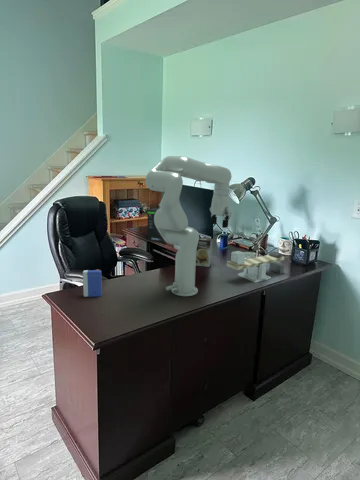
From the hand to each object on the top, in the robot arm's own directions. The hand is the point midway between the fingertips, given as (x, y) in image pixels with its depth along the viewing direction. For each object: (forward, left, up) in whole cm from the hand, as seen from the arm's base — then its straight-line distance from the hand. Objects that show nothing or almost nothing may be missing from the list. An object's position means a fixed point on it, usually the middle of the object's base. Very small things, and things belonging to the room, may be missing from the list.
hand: (219, 225), depth 177 cm
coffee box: (+6, +20, -28) cm, 35 cm away
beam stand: (+25, -11, -28) cm, 39 cm away
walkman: (-66, +8, -28) cm, 72 cm away
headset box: (+17, +84, -28) cm, 90 cm away
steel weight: (+5, -11, -19) cm, 22 cm away
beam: (+19, -11, -21) cm, 30 cm away
